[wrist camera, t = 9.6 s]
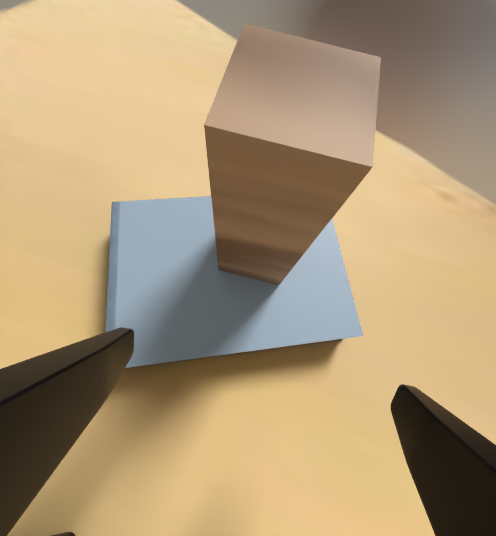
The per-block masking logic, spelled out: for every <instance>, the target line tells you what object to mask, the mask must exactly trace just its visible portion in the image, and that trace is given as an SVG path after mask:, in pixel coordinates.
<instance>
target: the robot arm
mask: <svg viewBox="0 0 496 536" xmlns="http://www.w3.org/2000/svg"><path fill="white" fill-rule="evenodd" d="M133 351H134V331H133V330H132V329H129V328H124V327H120V328H117V329H114V330H111V331H108V332H106V333H103V334H100V335H97V336H94V337H91V338H88V339H85V340H83V341H80V342H77V343H74V344H71V345H68V346H65V347H62V348H60V349H57V350H54V351H51V352H48V353H45V354H42V355H39V356H37V357H34V358H31V359H28V360H25V361H22V362H19V363H16V364H14V365H11V366H8V367H5V368H2V369H0V536H7V535H8V533H9V532H10V531H11V529H12V528H13V527H14V525H15V524H16V523H17V521H18V520H19V518H20V517H21V516H22V514H23V513H24V512H25V510H26V509H27V507H28V506H29V505H30V503H31V502H32V501H33V499H34V498H35V497H36V495H37V494H38V492H39V491H40V490H41V488H42V487H43V486H44V484H45V483H46V481H47V480H48V479H49V477H50V476H51V475H52V473H53V472H54V470H55V469H56V468H57V466H58V465H59V464H60V462H61V461H62V460H63V458H64V457H65V455H66V454H67V453H68V451H69V450H70V449H71V447H72V446H73V444H74V443H75V442H76V440H77V439H78V438H79V436H80V435H81V433H82V432H83V431H84V429H85V428H86V427H87V425H88V424H89V423H90V421H91V420H92V418H93V417H94V416H95V414H96V413H97V412H98V410H99V409H100V407H101V406H102V405H103V403H104V402H105V400H106V399H107V397H108V396H109V394H110V393H111V391H112V389H113V388H114V386H115V384H116V383H117V381H118V379H119V377H120V376H121V374H122V372H123V371H124V369H125V367H126V366H127V364H128V362H129V360H130V359H131V357H132V355H133ZM391 413H392V416H393V419H394V423H395V426H396V429H397V433H398V436H399V439H400V443H401V446H402V449H403V453H404V456H405V459H406V462H407V465H408V467H409V470H410V473H411V475H412V478H413V480H414V483H415V485H416V488H417V490H418V493H419V495H420V498H421V500H422V503H423V505H424V508H425V511H426V513H427V516H428V518H429V521H430V523H431V526H432V528H433V531H434V533H435V536H496V445H495V444H493V443H492V442H491V441H489V440H488V439H486V438H485V437H484V436H482V435H481V434H480V433H478V432H477V431H475V430H474V429H473V428H471V427H470V426H468V425H467V424H466V423H464V422H463V421H462V420H460V419H459V418H457V417H456V416H455V415H453V414H452V413H450V412H449V411H448V410H446V409H445V408H444V407H442V406H441V405H439V404H438V403H437V402H435V401H434V400H432V399H431V398H430V397H428V396H427V395H426V394H424V393H423V392H421V391H420V390H419V389H417V388H416V387H413V386H409V385H404V384H402V385H400V386H399V387H398V389H397V391H396V393H395V396H394V398H393V400H392V402H391ZM52 536H75V534H73V533H72V532H66V533H62V534H57V535H52Z"/></svg>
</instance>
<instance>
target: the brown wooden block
mask: <svg viewBox="0 0 496 536" xmlns="http://www.w3.org/2000/svg"><path fill="white" fill-rule="evenodd" d="M380 62H381V58H380V57H376V56H373V55H369V54H365V53H361V52H357V51H353V50H349V49H345V48H341V47H337V46H333V45H329V44H325V43H321V42H317V41H313V40H309V39H305V38H301V37H297V36H293V35H288V34H285V33H281V32H277V31H273V30H269V29H265V28H261V27H257V26H253V25H249V24H244V26H243V28H242V31H241V34H240V36H239V39H238V41H237V44H236V46H235V49H234V51H233V54H232V56H231V59H230V61H229V64H228V66H227V69H226V71H225V74H224V76H223V79H222V81H221V84H220V86H219V89H218V91H217V94H216V97H215V99H214V102H213V104H212V107H211V109H210V112H209V114H208V117H207V119H206V122H205V124H204V127H205V138H206V148H207V158H208V168H209V178H210V188H211V199H212V209H213V219H214V229H215V239H216V249H217V260H218V270H220V271H224V272H228V273H232V274H236V275H240V276H244V277H248V278H252V279H256V280H260V281H264V282H268V283H272V284H276V285H280V284H281V282H282V281H283V280H284V279H285V277H286V276H287V275H288V273H289V272H290V271H291V270H292V268H293V267H294V266H295V265H296V263H297V262H298V261H299V260H300V258H301V257H302V256H303V254H304V253H305V252H306V251H307V249H308V248H309V247H310V246H311V244H312V243H313V242H314V240H315V239H316V238H317V237H318V235H319V234H320V233H321V232H322V230H323V229H324V228H325V227H326V225H327V224H328V223H329V221H330V220H331V219H332V218H333V216H334V215H335V214H336V213H337V211H338V210H339V209H340V207H341V206H342V205H343V204H344V202H345V201H346V200H347V199H348V197H349V196H350V195H351V194H352V192H353V191H354V190H355V188H356V187H357V186H358V185H359V183H360V182H361V181H362V180H363V178H364V177H365V176H366V175H367V173H368V172H369V171H370V169H371V168H372V166H373V153H374V140H375V127H376V114H377V101H378V88H379V74H380Z"/></svg>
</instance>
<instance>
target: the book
mask: <svg viewBox="0 0 496 536" xmlns="http://www.w3.org/2000/svg"><path fill="white" fill-rule="evenodd" d="M120 327H124V328H129V329H132V330H133V331H134V351H133V355H132V357H131V359H130V360H129V362H128V364H127V366H126V367H125V368H129V367H137V366H144V365H152V364H159V363H166V362H174V361H181V360H188V359H196V358H203V357H211V356H218V355H225V354H233V353H240V352H248V351H255V350H262V349H270V348H277V347H285V346H292V345H299V344H307V343H314V342H321V341H329V340H336V339H344V338H351V337H358V336H363V333H362V330H361V326H360V322H359V318H358V314H357V311H356V307H355V303H354V299H353V295H352V292H351V288H350V284H349V280H348V277H347V273H346V269H345V265H344V261H343V258H342V254H341V250H340V246H339V242H338V239H337V235H336V231H335V227H334V224H333V220H332V219H331V220H330V221H329V223H328V224H327V225H326V227H325V228H324V229H323V230H322V232H321V233H320V234H319V235H318V237H317V238H316V239H315V240H314V242H313V243H312V244H311V246H310V247H309V248H308V249H307V251H306V252H305V253H304V254H303V256H302V257H301V258H300V260H299V261H298V262H297V263H296V265H295V266H294V267H293V268H292V270H291V271H290V272H289V273H288V275H287V276H286V277H285V279H284V280H283V281H282V282H281V284H280V285H276V284H272V283H268V282H264V281H260V280H256V279H252V278H248V277H244V276H240V275H236V274H232V273H228V272H224V271H220V270H218V260H217V249H216V239H215V229H214V219H213V209H212V199H211V196H206V197H189V198H172V199H156V200H139V201H122V202H112V210H111V229H110V249H109V268H108V287H107V306H106V325H105V333H106V332H108V331H111V330H114V329H117V328H120Z"/></svg>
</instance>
